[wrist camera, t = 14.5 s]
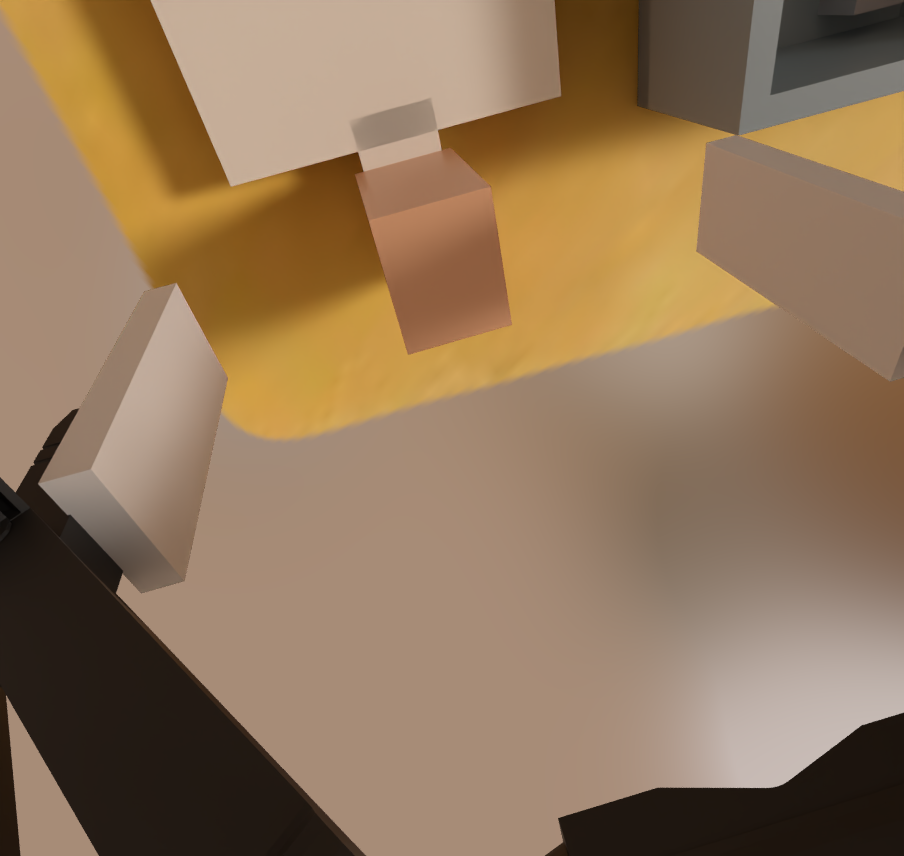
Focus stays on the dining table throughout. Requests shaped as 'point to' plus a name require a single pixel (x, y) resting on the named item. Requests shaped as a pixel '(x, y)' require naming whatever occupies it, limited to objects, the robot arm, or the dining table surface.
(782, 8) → the tub
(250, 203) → the dining table surface
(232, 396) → the dining table surface
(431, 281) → the lid
